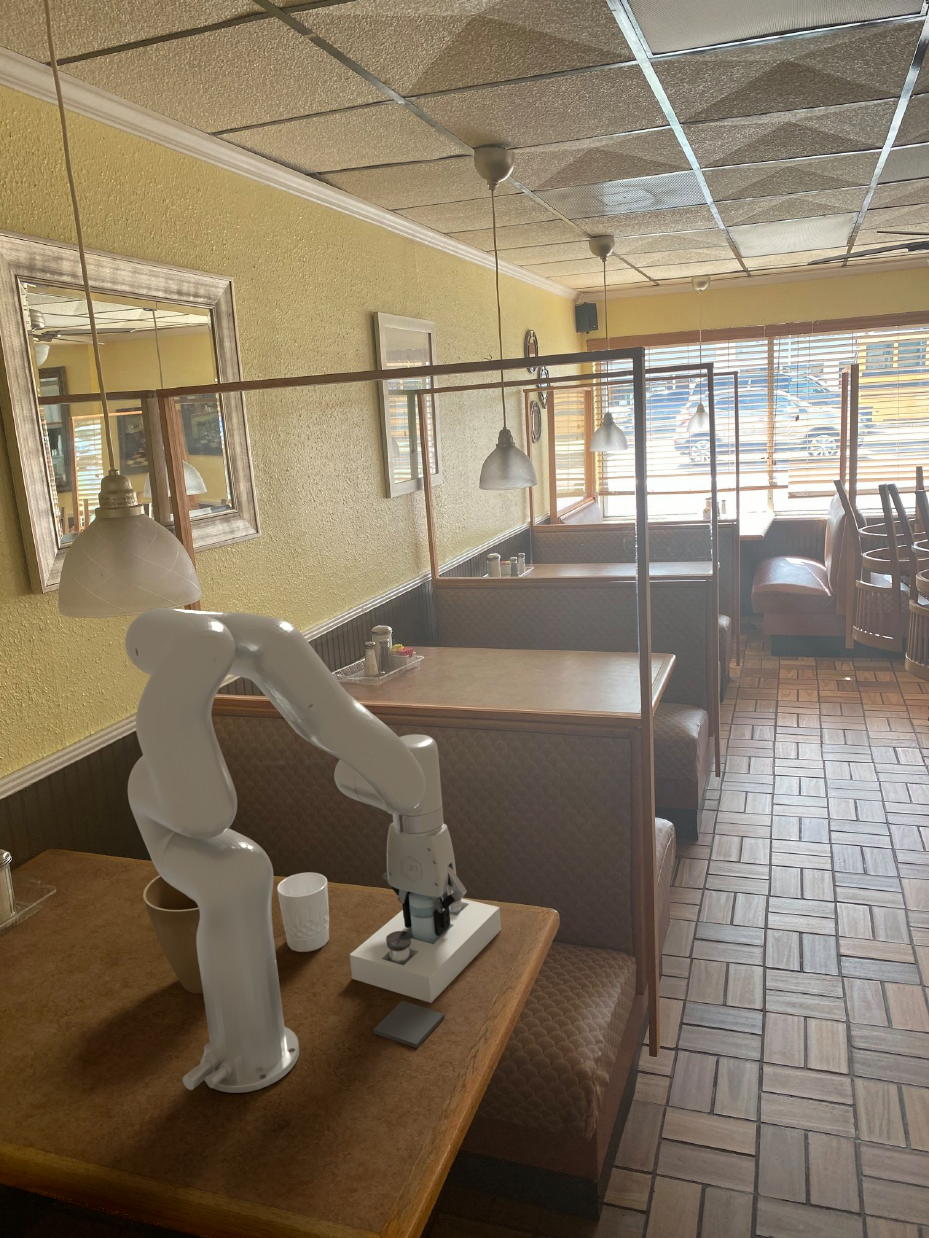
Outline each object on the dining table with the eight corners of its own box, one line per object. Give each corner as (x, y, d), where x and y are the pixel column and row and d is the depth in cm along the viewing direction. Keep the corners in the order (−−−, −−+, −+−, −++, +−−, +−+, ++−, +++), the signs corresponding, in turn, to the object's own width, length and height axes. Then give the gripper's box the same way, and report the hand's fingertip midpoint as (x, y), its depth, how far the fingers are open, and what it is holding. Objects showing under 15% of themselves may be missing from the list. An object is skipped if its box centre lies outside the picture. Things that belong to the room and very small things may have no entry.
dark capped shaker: (457, 932, 146) (455, 898, 145) (438, 927, 148) (435, 893, 147) (468, 921, 149) (466, 887, 148) (450, 916, 151) (447, 883, 150)
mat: (416, 1047, 121) (416, 1043, 121) (373, 1033, 124) (373, 1029, 124) (444, 1017, 127) (444, 1013, 126) (402, 1004, 130) (402, 1000, 130)
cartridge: (434, 965, 139) (429, 905, 137) (407, 957, 142) (402, 898, 140) (451, 948, 143) (446, 890, 141) (424, 941, 146) (419, 884, 144)
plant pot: (136, 996, 136) (120, 898, 133) (206, 944, 149) (194, 853, 146) (211, 1020, 129) (197, 917, 126) (278, 964, 142) (267, 869, 139)
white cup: (338, 927, 152) (332, 871, 150) (326, 954, 144) (320, 896, 142) (291, 927, 153) (285, 872, 151) (277, 954, 145) (270, 896, 143)
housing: (431, 1002, 130) (428, 977, 129) (352, 978, 137) (349, 954, 136) (500, 929, 148) (499, 907, 147) (427, 911, 155) (426, 889, 154)
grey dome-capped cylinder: (404, 983, 134) (401, 946, 132) (384, 977, 135) (381, 940, 134) (418, 970, 137) (415, 934, 135) (398, 964, 138) (395, 928, 137)
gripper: (357, 818, 139) (368, 927, 143) (453, 836, 130) (462, 952, 134) (386, 799, 145) (395, 904, 149) (479, 816, 137) (487, 927, 140)
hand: (427, 926), depth 141 cm, fingers closed on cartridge, 4 cm apart
